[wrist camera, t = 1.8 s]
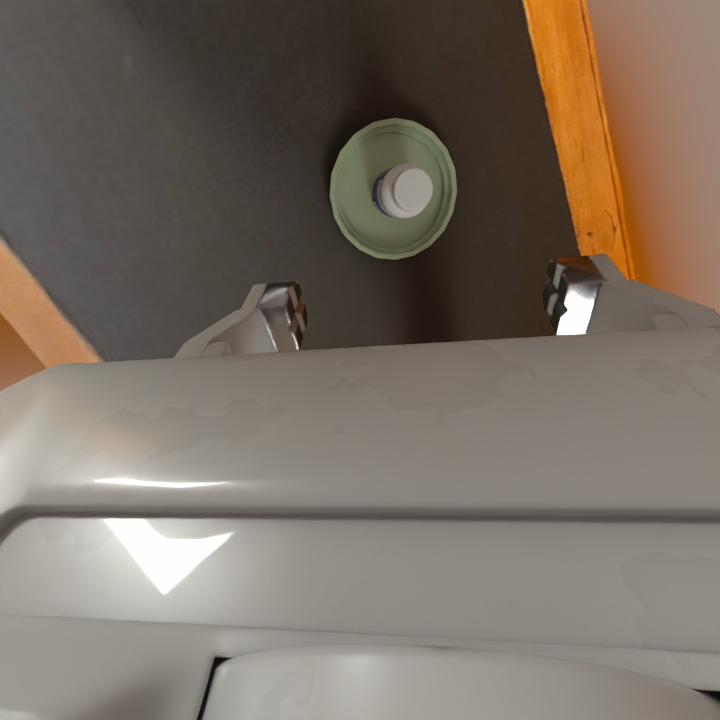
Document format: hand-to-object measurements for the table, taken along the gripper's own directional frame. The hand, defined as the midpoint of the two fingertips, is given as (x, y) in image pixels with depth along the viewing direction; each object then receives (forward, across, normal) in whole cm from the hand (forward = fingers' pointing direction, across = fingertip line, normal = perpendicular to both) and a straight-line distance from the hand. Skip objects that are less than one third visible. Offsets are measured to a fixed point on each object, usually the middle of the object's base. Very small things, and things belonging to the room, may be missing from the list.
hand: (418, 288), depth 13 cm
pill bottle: (+38, +2, +10) cm, 39 cm away
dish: (+38, +3, +10) cm, 39 cm away
